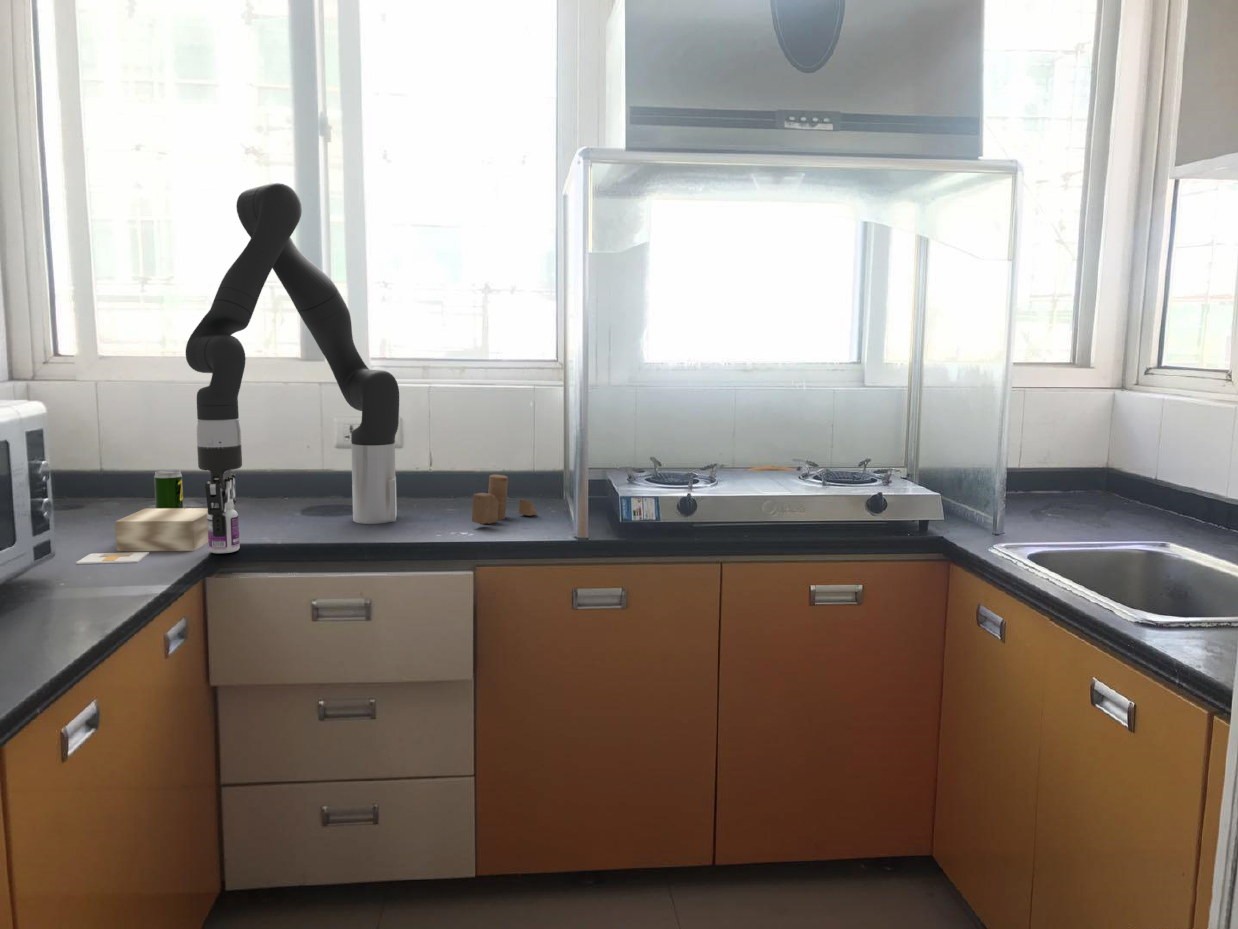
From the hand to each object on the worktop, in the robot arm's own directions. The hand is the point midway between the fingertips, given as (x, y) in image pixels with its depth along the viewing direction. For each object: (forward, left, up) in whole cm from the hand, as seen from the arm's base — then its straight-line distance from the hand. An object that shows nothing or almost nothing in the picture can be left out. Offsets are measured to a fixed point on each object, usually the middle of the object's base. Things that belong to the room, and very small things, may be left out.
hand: (223, 532), depth 172 cm
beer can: (+16, -26, -4) cm, 31 cm away
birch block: (+12, -10, -4) cm, 16 cm away
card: (+18, +3, -4) cm, 19 cm away
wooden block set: (-53, -22, -4) cm, 57 cm away
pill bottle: (0, 0, -4) cm, 4 cm away
